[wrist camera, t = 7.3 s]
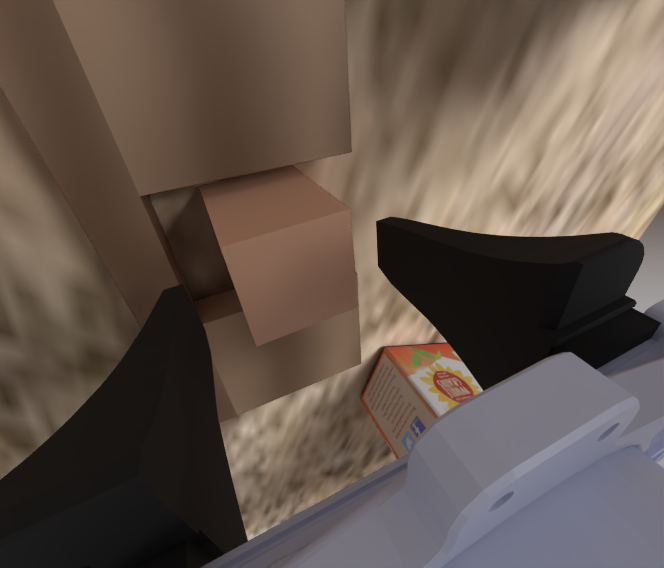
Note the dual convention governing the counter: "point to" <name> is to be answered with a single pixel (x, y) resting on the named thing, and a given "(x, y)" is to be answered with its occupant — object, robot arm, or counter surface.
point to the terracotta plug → (284, 249)
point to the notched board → (184, 142)
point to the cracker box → (415, 391)
